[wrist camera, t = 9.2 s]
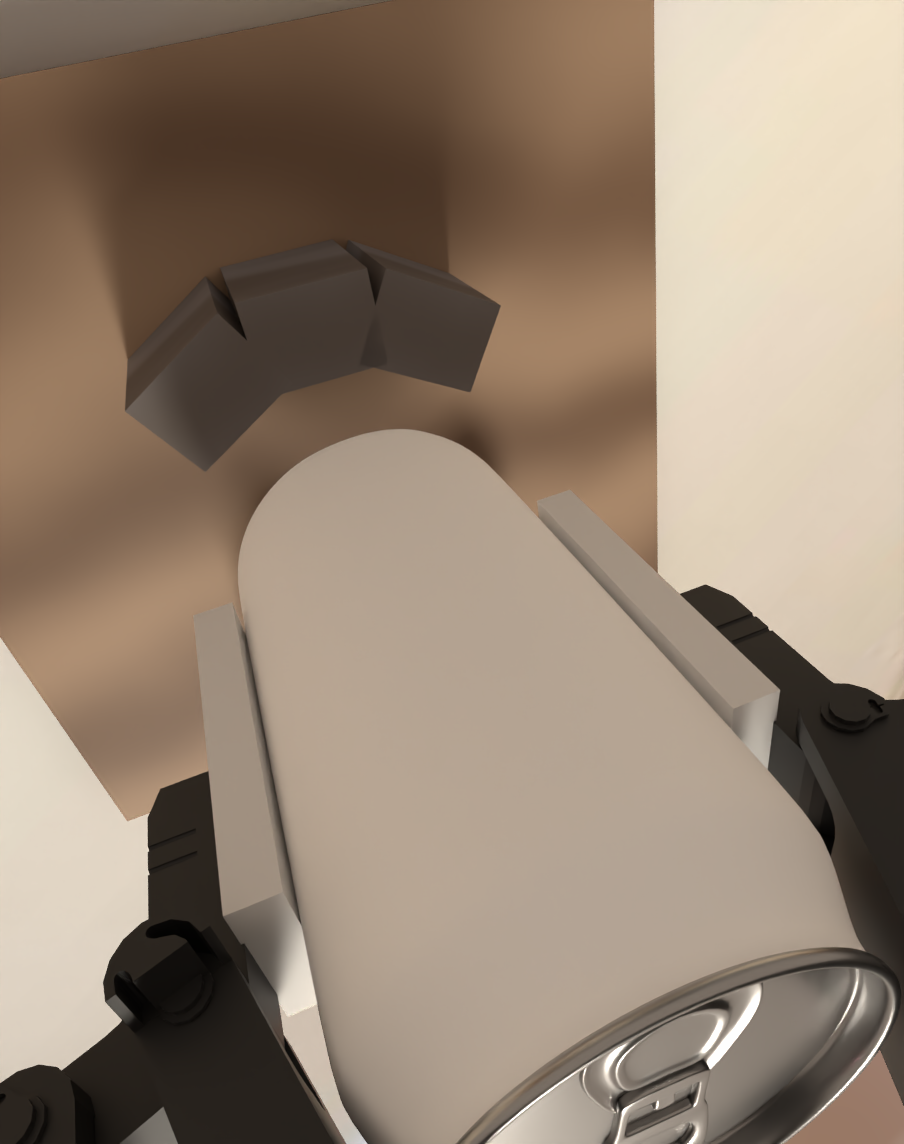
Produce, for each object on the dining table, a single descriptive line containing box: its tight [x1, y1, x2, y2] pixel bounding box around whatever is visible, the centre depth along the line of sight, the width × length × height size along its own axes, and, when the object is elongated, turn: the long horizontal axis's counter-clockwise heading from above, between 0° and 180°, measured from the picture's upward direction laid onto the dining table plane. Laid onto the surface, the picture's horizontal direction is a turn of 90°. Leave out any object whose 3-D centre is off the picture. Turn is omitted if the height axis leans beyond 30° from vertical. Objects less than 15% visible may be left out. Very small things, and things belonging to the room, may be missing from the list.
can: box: [238, 429, 901, 1144], centre depth 13 cm, size 6×6×12 cm
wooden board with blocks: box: [0, 0, 658, 821], centre depth 20 cm, size 20×20×5 cm
